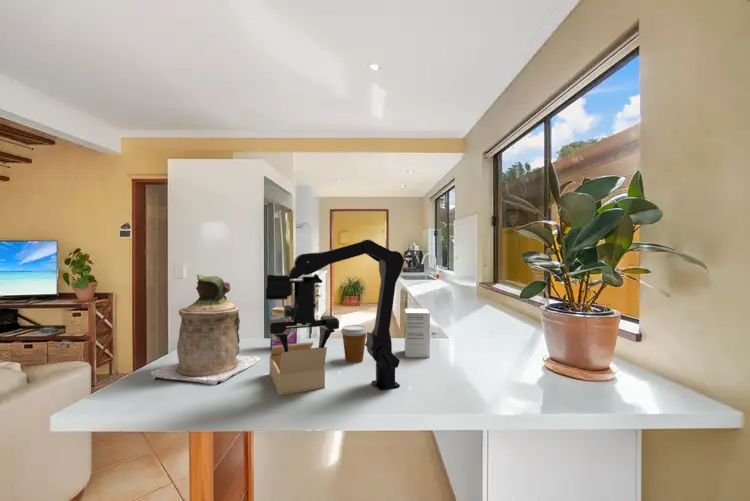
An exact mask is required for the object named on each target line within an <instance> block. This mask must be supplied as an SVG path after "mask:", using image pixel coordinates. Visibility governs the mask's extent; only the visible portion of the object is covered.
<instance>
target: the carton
mask: <svg viewBox="0 0 750 501" xmlns="http://www.w3.org/2000/svg"><path fill="white" fill-rule="evenodd" d="M280 363H281V355H272V356H271V355H269V376H270V378H271V381H272V383H273V386H274V388H275V390H276V393H277V396H284V395H289V394H296V393H301V392H309V391H314V390H315V391H316V390H321V389H325V388H326V386H325V385H326V383H325V382H326V381H325V380H326V377H325V376H326V373H325V372H326V368H325V367H324V369H316V370H309V371H302V372H294V373H287V374H280Z"/></svg>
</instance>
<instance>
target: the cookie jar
mask: <svg viewBox="0 0 750 501" xmlns="http://www.w3.org/2000/svg"><path fill="white" fill-rule="evenodd" d="M196 275H197V277H196V278H197V282H196V285H197V286H196V287H195V290H196V291H197V293H198V296H199V298H197V299H196V300H195V301H194V302H193V303H192V304H189V305H188V306H187V307H186V306H185V307H183V308H181V309H179V310H178V315H179V316H180V317H181V318H180V319H181V322H180V327H179V331H178V332H179V334H178V340H177V345H176V353H177V360H178V362H177V363H174V364H171V365H168V366H164V367H161V368H157V369H155V370H152V371H150V375H152V379H153V380H155V379H157V378H160V379H166V380H175V381H176V380H177V381H186V382H187V381H188V382H196V383H202V384H207V385H212V386H216V385H217V384H218V382H224V381H227V380H228V379H229V378H231V377H234V376H235V375H237V374H241V372H244V371H245V370H247V369H249V368H250V367H252V366H255V365H256V364H258V363H259V362H260V357H259V356H254V355H249V356H248V355H238V354H239V352H240V346H239V345H240V335H239V330H240V323H241V319H240V314H239V307H238V306H236V305H235V304H234V303H232V302H231V301H229V300H227V296H226V294H227V293H229V292H230V290H231V285H230V283H229V282H228V281H224V280H223V278H222V277H219V276H217V275H213V276H212V275H210V276H209V275H207V276H205V275H202V274H200V273H198V274H196Z"/></svg>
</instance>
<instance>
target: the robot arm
mask: <svg viewBox="0 0 750 501" xmlns="http://www.w3.org/2000/svg"><path fill="white" fill-rule="evenodd" d="M361 255H367V256H369V257H370V258H371V259H372V260H374V261H376V262H377V263H378V271H379V272H378V273H379V278H380V285H379V293H378V301H377V308H376V315H375V322H374V327H373V330H372V331H371V332H370V331H367V334H366V340H365V347H366V352H367V353H368V354H369V355H370V356H371V357H372V358H373V361H375V380H371V384H372V385H374V387H376V388H377V389H379V390H381V391H384V390H387V389H388V390H389V389H393V388H400V387H401V384H400V383H398V382H396V369H398V367H399V365H400V359H399V358H398V357H397V356H396V355H394V353H393V348H392V347H393V345H392V337H391V333H390V332H391V331H390V329H391V328H390V327H391V321H392V314H393V307H394V299H395V290H396V284H397V281H398V279H399V278H400V275H402V270H403V266H404V264H405V258H404V256H403V254H402V253H401V252H399V251H397V250H395V251H394V250H390V249H388V248H386V247H384V246H383V245H380V244H378V243H377V242H375V241H373V240H372V239H363V240H361V241H359V242H356V243H355V242H354V243H351V244H348V245H344V246H341V247H337V248H333V249H330V250H327V251H319V252H318V251H317V252H309V253H300V254H299V255H297V256H296V257H295V259H294V261H293V267H292V268H291V270H289V271H288V273H287V275H286V274H284V275H283V274H278V275H277V274H267V276H266V286H265V300H266V301H274V300H276V301H277V300H278V301H279V300H280V301H281V300H283V301H284V300H288V298H289V297H290V296H292V293H293V304H292V305H293V307H292V305H289V304H288V305H284V306H283V308H284V317H291V321H294V322H285V321H284V320H283V319H273V320H271V319H269V321H268V322H267V330H268V332H269V335H271V334H274V335H275V337H279V339H280V341H281V343H282V347H283V350H284V351H285V352H288V342H287V334H286V333H285V331H286V329H293V328H300V329H304V328H306V329H307V328H317V327H318V328H319V341H318V347H320V348H324V347H326V343H327V341H328V339H329V338H330V337H331V335H332V333H334V332H336V331H335V330H339V329H340V321H339V319H338V317H336V316H334V315H326V316H325V315H324V316H320V319H316V318H315V317H316V316H315V315H316V313H315V311H316V284H322V283H323V280H322V279H321V278H320V277H319V276H318V274H317V273H315V272H317V271H320V270H322V269H324V268H325V267H327V266H329V265H331V264H335V263H338V262H342V261H345V260H349V259H352V258H356V257H359V256H361ZM312 274H314V275H313V276H309V275H312ZM301 276H302V277H301ZM300 277H301V279H298V278H300ZM296 279H297V280H296ZM297 324H300V325H297Z"/></svg>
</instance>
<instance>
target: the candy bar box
mask: <svg viewBox="0 0 750 501" xmlns="http://www.w3.org/2000/svg"><path fill="white" fill-rule="evenodd" d="M273 319H283V320H284V321H285V322H294V321H291V317H284V307H277V306H276V307H273V308H270V320H273ZM297 325H301V324H297ZM285 333H286V334H287V342H288V344H297V343H301V328H293V329H286V331H285ZM269 342H270V346H269V347H270V350H272V348H273V346H278V345H282V343H281V341H280V339H279V337H275V335H274V334H270V341H269Z"/></svg>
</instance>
